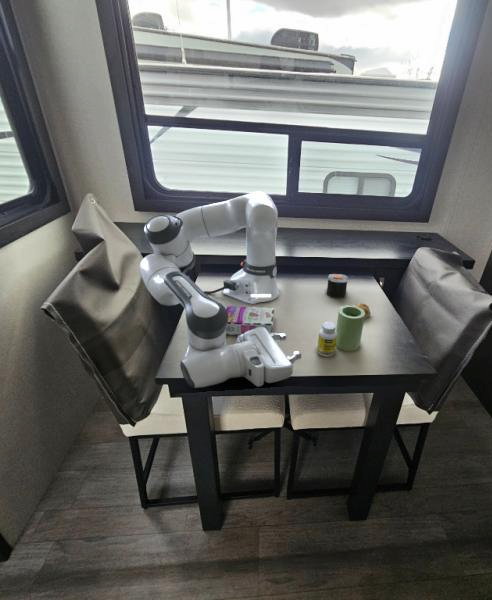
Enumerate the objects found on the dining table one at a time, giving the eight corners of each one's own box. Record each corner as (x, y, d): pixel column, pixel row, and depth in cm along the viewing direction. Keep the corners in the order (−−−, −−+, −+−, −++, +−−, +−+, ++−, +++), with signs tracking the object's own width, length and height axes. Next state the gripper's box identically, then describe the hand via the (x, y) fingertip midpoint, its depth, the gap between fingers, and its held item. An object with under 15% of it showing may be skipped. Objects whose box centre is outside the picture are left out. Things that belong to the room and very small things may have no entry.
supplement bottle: (322, 358, 94) (325, 331, 90) (314, 348, 99) (316, 322, 94) (337, 355, 97) (341, 328, 92) (329, 344, 101) (332, 318, 96)
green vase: (332, 347, 100) (336, 314, 94) (338, 333, 106) (342, 303, 101) (356, 353, 98) (362, 320, 92) (361, 339, 104) (367, 308, 99)
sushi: (345, 298, 129) (348, 281, 125) (325, 296, 130) (327, 278, 126) (346, 290, 136) (348, 273, 132) (327, 288, 137) (329, 271, 133)
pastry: (354, 323, 113) (355, 314, 111) (341, 315, 117) (342, 306, 115) (371, 315, 118) (373, 307, 116) (358, 308, 123) (359, 299, 121)
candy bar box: (221, 335, 102) (272, 337, 103) (220, 322, 100) (272, 324, 100) (228, 317, 112) (274, 318, 112) (227, 305, 109) (274, 306, 110)
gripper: (234, 345, 94) (277, 334, 100) (260, 391, 78) (308, 375, 84) (233, 327, 91) (277, 317, 97) (260, 371, 75) (310, 356, 81)
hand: (292, 344), depth 91 cm, fingers open, 8 cm apart
